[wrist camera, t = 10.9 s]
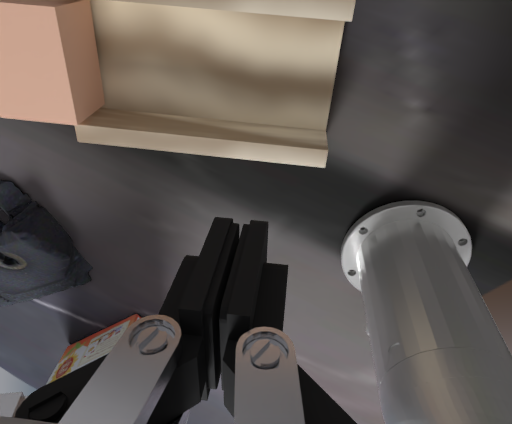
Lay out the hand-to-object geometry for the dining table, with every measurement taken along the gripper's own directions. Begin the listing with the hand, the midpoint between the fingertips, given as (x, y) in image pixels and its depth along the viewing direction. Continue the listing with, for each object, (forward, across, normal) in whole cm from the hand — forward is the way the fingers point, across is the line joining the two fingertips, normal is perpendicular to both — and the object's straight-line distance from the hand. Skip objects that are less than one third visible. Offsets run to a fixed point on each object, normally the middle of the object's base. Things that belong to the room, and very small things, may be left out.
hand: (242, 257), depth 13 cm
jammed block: (+22, +18, -2) cm, 29 cm away
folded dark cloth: (+24, +33, +22) cm, 47 cm away
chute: (+24, +8, -1) cm, 25 cm away
